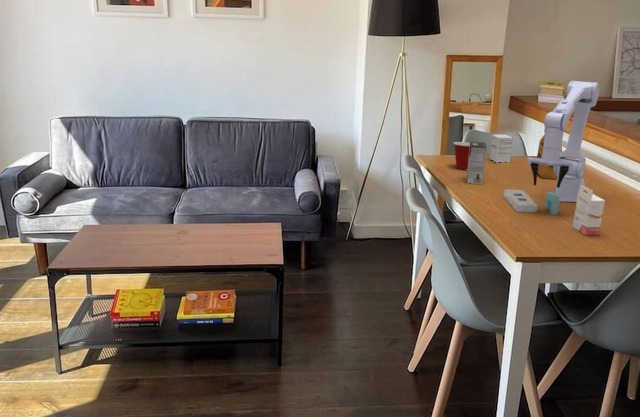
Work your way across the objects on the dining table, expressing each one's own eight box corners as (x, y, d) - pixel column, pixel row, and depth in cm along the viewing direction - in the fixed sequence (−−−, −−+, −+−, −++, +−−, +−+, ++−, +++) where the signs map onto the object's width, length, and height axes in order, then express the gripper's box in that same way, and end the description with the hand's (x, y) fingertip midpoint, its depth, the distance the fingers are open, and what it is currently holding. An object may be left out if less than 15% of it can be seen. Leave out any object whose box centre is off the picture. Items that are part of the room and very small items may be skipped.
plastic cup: (478, 168, 269) (481, 142, 266) (470, 172, 261) (473, 146, 257) (455, 164, 275) (458, 139, 271) (447, 169, 266) (449, 143, 262)
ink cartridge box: (600, 235, 186) (607, 191, 182) (585, 235, 186) (592, 191, 181) (586, 226, 195) (593, 183, 190) (571, 226, 194) (578, 183, 190)
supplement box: (489, 160, 285) (491, 134, 281) (503, 159, 286) (506, 134, 282) (495, 163, 278) (498, 137, 274) (510, 163, 279) (513, 137, 275)
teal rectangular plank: (550, 207, 213) (552, 192, 211) (557, 214, 206) (559, 198, 204) (544, 207, 213) (546, 191, 212) (551, 214, 206) (553, 198, 204)
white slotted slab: (521, 196, 227) (522, 190, 226) (536, 212, 208) (537, 205, 207) (503, 195, 227) (504, 189, 227) (516, 211, 208) (517, 205, 208)
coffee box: (466, 178, 252) (469, 141, 247) (481, 179, 250) (485, 142, 245) (466, 183, 243) (470, 145, 238) (482, 184, 242) (486, 146, 237)
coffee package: (537, 178, 252) (544, 128, 245) (533, 171, 264) (539, 123, 257) (562, 180, 251) (569, 129, 244) (556, 173, 262) (563, 124, 255)
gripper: (530, 147, 199) (524, 186, 203) (576, 151, 196) (569, 190, 199) (529, 144, 206) (524, 181, 210) (573, 148, 202) (567, 186, 206)
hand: (546, 185), depth 205 cm, fingers open, 7 cm apart
